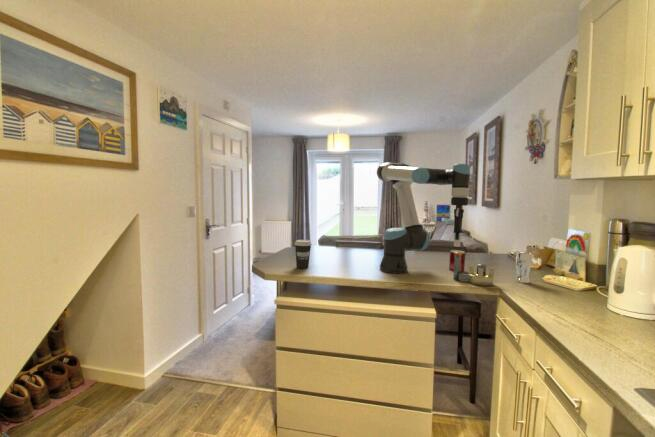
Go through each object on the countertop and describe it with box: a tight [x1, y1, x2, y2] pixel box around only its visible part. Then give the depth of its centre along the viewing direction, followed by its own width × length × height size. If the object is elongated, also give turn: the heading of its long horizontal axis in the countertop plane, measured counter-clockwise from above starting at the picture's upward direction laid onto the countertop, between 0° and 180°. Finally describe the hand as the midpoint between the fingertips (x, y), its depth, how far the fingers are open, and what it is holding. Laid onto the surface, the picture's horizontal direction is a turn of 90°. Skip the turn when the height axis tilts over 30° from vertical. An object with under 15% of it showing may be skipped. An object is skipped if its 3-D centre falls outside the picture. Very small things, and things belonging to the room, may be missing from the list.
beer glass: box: [515, 250, 533, 284], centre depth 164 cm, size 7×7×15 cm
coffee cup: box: [294, 239, 312, 270], centre depth 180 cm, size 10×10×15 cm
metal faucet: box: [452, 252, 495, 287], centre depth 160 cm, size 18×11×14 cm, turn 61°
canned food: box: [448, 249, 466, 272], centre depth 185 cm, size 8×8×11 cm
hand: (456, 246), depth 156 cm, fingers closed
